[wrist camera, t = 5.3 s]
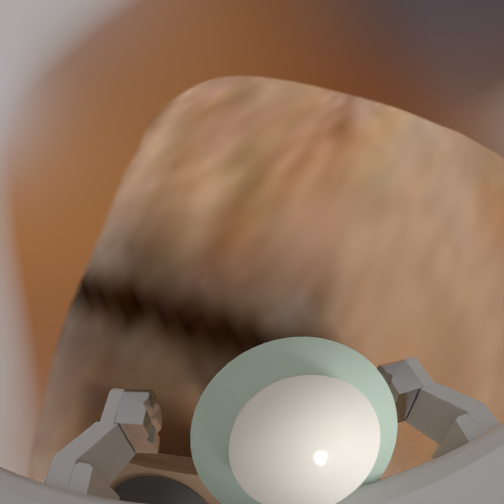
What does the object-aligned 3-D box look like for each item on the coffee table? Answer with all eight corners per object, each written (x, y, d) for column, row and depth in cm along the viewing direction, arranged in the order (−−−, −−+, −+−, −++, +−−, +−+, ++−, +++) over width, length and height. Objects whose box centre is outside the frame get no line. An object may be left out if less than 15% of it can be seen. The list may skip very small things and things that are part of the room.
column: (303, 439, 14) (400, 525, 4) (218, 437, 14) (181, 537, 4) (308, 360, 15) (417, 330, 5) (223, 356, 15) (192, 324, 5)
